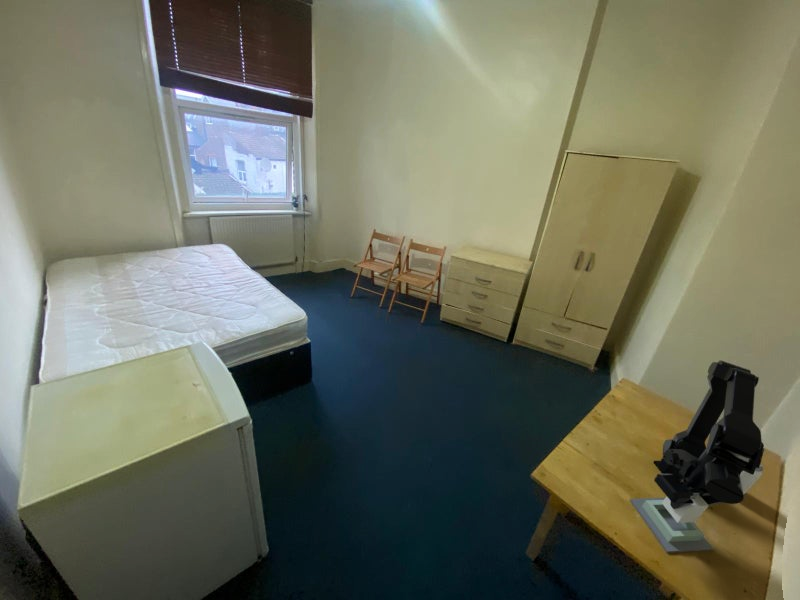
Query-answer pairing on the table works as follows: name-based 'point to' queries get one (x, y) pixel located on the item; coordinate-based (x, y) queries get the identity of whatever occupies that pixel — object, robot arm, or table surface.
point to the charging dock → (670, 527)
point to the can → (749, 476)
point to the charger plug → (687, 509)
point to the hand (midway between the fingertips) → (681, 506)
